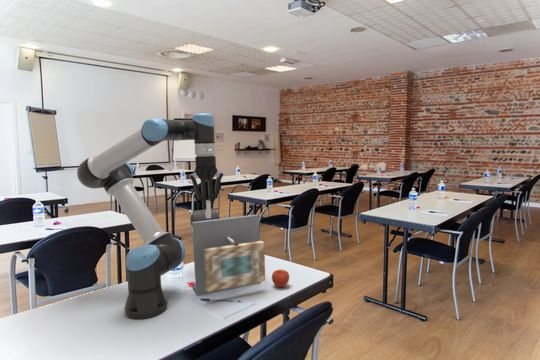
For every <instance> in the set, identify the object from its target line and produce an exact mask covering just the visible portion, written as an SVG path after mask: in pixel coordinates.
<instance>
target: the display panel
mask: <svg viewBox="0 0 540 360" xmlns="http://www.w3.org/2000/svg"><path fill="white" fill-rule="evenodd" d="M259 217H260V216H259V215H258V214H249V215H242V216H232V217H231V216H230V217H225V218H219V219H214V220H205V221H197V222H192V226H191V227H192V229H191V230H192V244H193V263H194V264H193V265H194V266H193V267H194V279H195V280H194V281H195V282H194V283H193V284H192V289H193V291H194V293H195V294H196V296H201V295H207V294H212V293H217V292H222V291H227V290H233V289H237V288H241V287H247V286H253V285H258V284H261V282H256V283H251V284H246V285H241V286H236V287H230V288H225V289H220V290H215V291H210V292H207V290H206V285H205V263H204V249H208V248H215V247H222V246H228V245H234V244H235V243H238V244H242V243H249V242H256V241H260V223H259V222H260V220H259V219H260V218H259Z"/></svg>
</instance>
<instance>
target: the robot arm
mask: <svg viewBox="0 0 540 360" xmlns="http://www.w3.org/2000/svg"><path fill="white" fill-rule="evenodd" d="M190 140H191V141H193V142H194V143H193V144H194V155H195V158H194V159H195V160H194V161H195V162H194V163H195V169H194V172H192V173H191V174H189V175H188V178H189V179H190V181H191V183H192V186H193V190H194V193H195V196H196V198H197V200H198V201H201V203H202V205H201V206H202V207H201V208H202V210H203V211H205V216H206V218H211V211H212V209H214V200H216V199H218V197H219V192H220V186H221V182H222V181H221V180H222V178H223V177H224V173H223V172H220V171H218V168H217V161H216V160H217V159H216V158H217V157H216V156H215V154H216V142H215V121H214V115H213V114H212V113H205V112H204V113H202V112H201V113H194V114H193V116H192V119H184V120H183V119H181V120H180V119H179V120H178V119H167V118H166V119H165V118H159V117H156V118H154V117H153V118H148V119H146V120H145V121H144V122H143V124H142V125H141V128H139V129H138V130H136V131H134V132H133V133H132V134H130V135H129V136H127V137H125V138H124V139H122V140H120V141H118V143H116V144H114V145H112V146H111V147H109V148H107V149H106V150H104V151H102V152H101V153H99V154H98V155H96V154H94V155H91V156H90V157H88V158H86V159H85V160H83V161H82V162H81V163H80V164H79V166H78V167H77V171H76V176H77V179H78V181H79V182H80V184H81V185H83V187H86V188H89V189H102V188H103V189H104V191H105V193H107V195H109V196H113V197H114V198H115V201H116V202H117V204H118V205H119V206H120V208H121V209H122V210H123V213H124V214H125V216H126V217H127V219H128V220H129V222H130V223H131V224H132V226H133V228H134V229H135V231H136V232H137V234H138V235H139V237H140V239H141V240H142V242H143V243H144V244H143V245H141V246H136V247H134V248H132V249H131V250H129V251H128V253H127V254H126V259H125V260H126V263H125V266H126V267H125V268H126V276H127V287H128V288H127V289H128V294H127V296H126V297H127V298H126V301H125V305H124V315H125V314H126V315H127V316H128V317H127V316H126V315H125V316H126V317H127V318H129V317H130V318H129V319H132V318H137V319H136V320H143V318H146V319H150V317H151V318H154V317H156V316H159V315H161V314H163V313H164V312H165V311H166V310H167V309H168V300H167V296H166V295H165V292H164V290H163V288H162V276H163V275H165V274H167V273H168V272H170V271H171V270H175V269H176V268H178V267H179V266H181V264H182V263H183V262H184V261H185V258H186V247H185V244H184V243H183V242H182V241H181V239H179V238H176V237H172V235H171V233H169V232H168V231H164V230H163V229H162V227H161V226H160V224H159V223H158V221H157V220H156V218H155V217H154V215H153V214H152V212H151V210H150V209H149V208H148V206H147V204H146V203H145V202H144V200H143V198H142V197H141V195H140V194H139V192H138V191H137V189H136V188H135V186H134V185H133V184H134V180H135V179H134V178H133V176H134V174H133V172H134V170H133V167H132V165H131V164H130V163H129V162H130V161H132V160H133V159H135V158H137V157H138V156H140V155H142V154H143V153H145V152H147V151H148V150H150V149H151V148H153V147H155V146H157V145H159V144H161V143H162V142H164V141H167V142H169V141H173V142H175V141H176V142H178V141H190ZM215 177H216V179H215V183H214V186H213V181H214V178H215ZM197 178H198V179H199V180H200V188H201V189H200V188H199V185H198V180H197ZM206 183H207V184H206ZM206 186H207V187H206ZM213 187H214V189H213ZM207 195H208V196H207ZM207 197H208V198H207Z"/></svg>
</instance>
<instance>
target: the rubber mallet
mask: <svg viewBox="0 0 540 360" xmlns="http://www.w3.org/2000/svg"><path fill="white" fill-rule="evenodd" d="M214 219H220V215H219V211H217V210H211V218H206V216H205V210H203V211H198V212H194V213H191V214H190V219H189V220H190V225H191V227H192V222H197V221H205V220H214Z"/></svg>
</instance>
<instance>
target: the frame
mask: <svg viewBox="0 0 540 360" xmlns="http://www.w3.org/2000/svg"><path fill="white" fill-rule="evenodd" d="M265 252H266V251H265V242H264V241H263V240H259V241H256V242H249V243H242V244H238V243H235V244H234V245H228V246H222V247H215V248H208V249H204V263H205V285H206V290H207V292H210V291H215V290H220V289H225V288H230V287H236V286H241V285H246V284H251V283H256V282H262V283H263V282H265V281H266V260H265V257H266V256H265Z"/></svg>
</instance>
